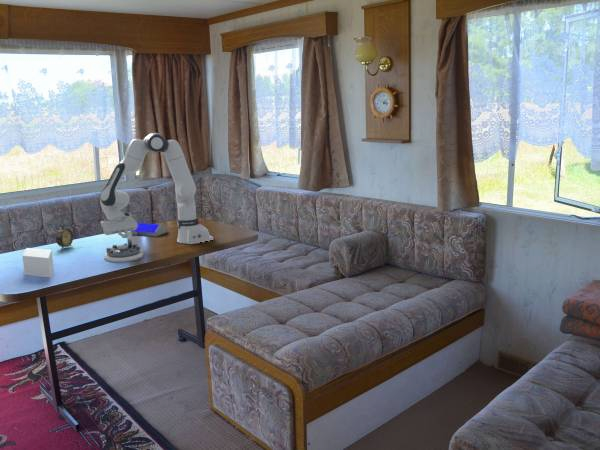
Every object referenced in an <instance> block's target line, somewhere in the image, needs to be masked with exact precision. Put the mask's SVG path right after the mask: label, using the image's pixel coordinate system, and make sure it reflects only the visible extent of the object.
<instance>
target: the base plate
mask: <svg viewBox="0 0 600 450" xmlns="http://www.w3.org/2000/svg"><path fill="white" fill-rule="evenodd" d="M127 245H128V244H127ZM127 245H124V244H120V245H118V246H119V250H126V249H127ZM103 257H104V260H105V261H106V262H108V263H109V262H111V263H125V262H127V263H128V262H131V261H136V260H138V259H142V258H143V257H144V251H143V250H142V249H140V253H139V254H136V255H133V256H128V257H110V256H108V255H107V252H105V253H104V255H103Z"/></svg>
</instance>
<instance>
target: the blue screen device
mask: <svg viewBox="0 0 600 450" xmlns="http://www.w3.org/2000/svg"><path fill="white" fill-rule="evenodd" d="M136 223H137V224H138V227H137V229H136V230H132V231H131V233H132V236H139V235H141V236H146V237H155V238H156V237H159V236H161V235H165V234H166V233H167V227H166V226H164V225H162V224H161V223H160V224H159V223H143V222H136Z"/></svg>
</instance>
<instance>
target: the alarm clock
mask: <svg viewBox="0 0 600 450" xmlns="http://www.w3.org/2000/svg"><path fill="white" fill-rule="evenodd" d="M62 223H63V226H62V225H60V227H61V228H60V229H59V230H57V232H56V233H55V234H56V235H55V241H56V244H57V245H58V246H59V247H61V251H63V250H64V248H69V247H72V244H73V240H74V236H73V232H72V230H71V229H69V228H64V227H65V222H64V221H61V223H60V224H62Z"/></svg>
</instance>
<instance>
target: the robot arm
mask: <svg viewBox="0 0 600 450" xmlns="http://www.w3.org/2000/svg"><path fill="white" fill-rule="evenodd" d="M148 152H152V153H162V154H163V156H164V158H165V162H166V164H167V167H168V170H169V173H170V175H171V177H172V180H173V182H174V191H175V199H176V205H177V221H176V222H177V223H176V224H177V228H178V230H177V233H178V234H177V239H176V242H177V243H179V244H187V245H193V244H194V245H195V244H200V242H202V243H206V242H205V241H208V242H211V241H210V240H213V241H214V237H213V235H210V232H209V229H208V228H207V227H205V226H204V225H203V224H201V223H202V219H200V218H198V217H197V210H196V209H197V206H196V201H195V195H196V192H197V186H196V184H195V181H194V179H193V176H192V174H191V171H190V169H189V166H188V163H187V161H186V157H185V154H184V152H183V149H182V147H181V145H180V144H179V142H178V141H177V140H176V139H168V140H167V138H165V137H164V136H162V134H160V133H158V132H151V133H149V134H146V136H144V137H143V138H142V139H140V138H134V139H132V140H131V141H130V143H129V144H128V146H127V148H126V151H125V154H124V156H123V158H122V159H121V161H120V162H119V163H117V165H116V166H115V167H114V169H113V171H112V173H111V175H110V176H109V179H108V181H107V182H106V185H105V186H104V188H103V189H102V190H101V192H100V194H99V204H100V207H101V209H102V211H103V213H104V214H105V216H106V220H101V222H100V226H101V228H102V231H103V233H104V235H105V236H110V235H119V236H120V237H121V238H122V239H128V237H127V231H132V230H136V229H137V227H138V224H137V223H138V222H137V221H136V219H135V218H134V217H132V213H129V212H124V211H121V210H123V209H124V208H126V207H128V206H129V204H130V202H131V197H130V193H128V192H126V191H123V190H119V189H117V188H118V186H119V185H120V182H121V181H122V178H124V176H126V175H129V174H134V173H136V172H138V171H140V170H141V168H142V167H143V164H144V160H145V157H146V156H147V153H148Z"/></svg>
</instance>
